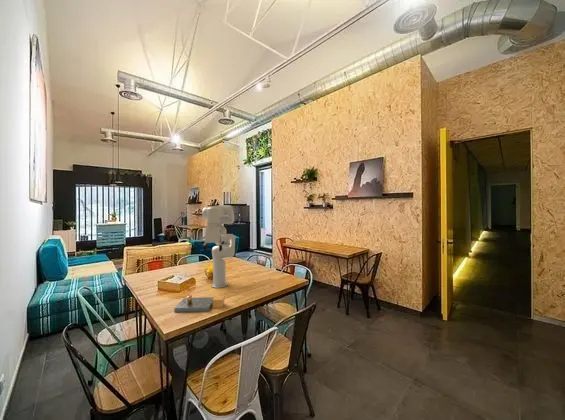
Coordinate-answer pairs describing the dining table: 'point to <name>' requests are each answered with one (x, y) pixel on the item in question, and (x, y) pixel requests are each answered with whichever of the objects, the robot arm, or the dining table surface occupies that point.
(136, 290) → the dining table surface
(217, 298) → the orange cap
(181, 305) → the plate
